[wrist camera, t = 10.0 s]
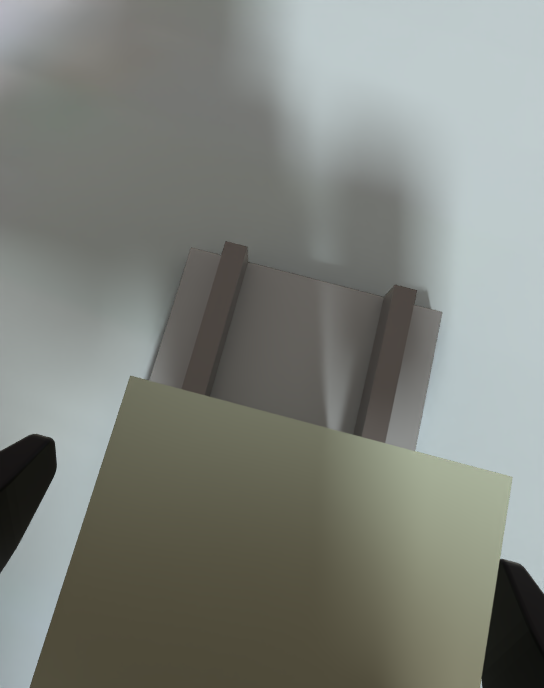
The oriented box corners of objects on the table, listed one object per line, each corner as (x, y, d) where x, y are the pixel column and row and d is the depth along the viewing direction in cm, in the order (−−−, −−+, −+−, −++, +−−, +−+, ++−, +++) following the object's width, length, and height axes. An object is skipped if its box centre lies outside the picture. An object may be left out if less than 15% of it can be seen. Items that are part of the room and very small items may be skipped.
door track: (331, 828, 16) (344, 901, 13) (42, 746, 16) (2, 802, 13) (432, 318, 19) (458, 301, 17) (194, 256, 19) (185, 230, 17)
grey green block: (288, 624, 16) (389, 1268, 4) (174, 592, 16) (-108, 1113, 4) (329, 447, 17) (512, 477, 5) (222, 418, 17) (130, 376, 5)
